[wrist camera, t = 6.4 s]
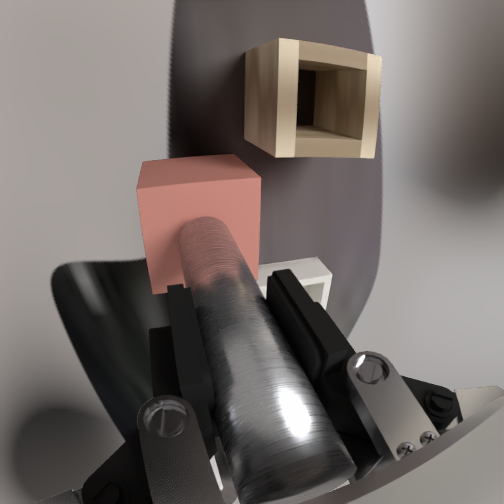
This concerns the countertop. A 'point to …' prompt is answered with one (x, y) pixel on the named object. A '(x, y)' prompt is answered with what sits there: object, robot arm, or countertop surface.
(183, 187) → the red block small bore
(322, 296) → the tray
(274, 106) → the beech block wide bore
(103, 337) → the countertop surface
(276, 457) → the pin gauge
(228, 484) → the countertop surface
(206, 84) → the countertop surface
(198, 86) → the countertop surface
